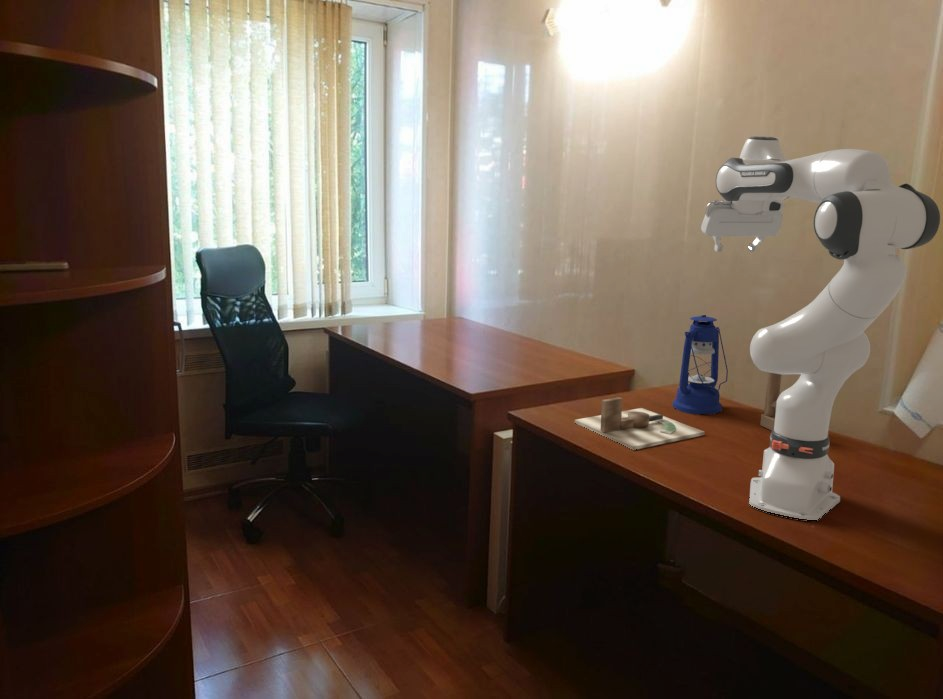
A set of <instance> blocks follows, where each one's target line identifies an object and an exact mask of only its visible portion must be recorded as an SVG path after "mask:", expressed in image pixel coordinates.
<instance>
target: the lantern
mask: <svg viewBox="0 0 943 699" xmlns="http://www.w3.org/2000/svg"><path fill="white" fill-rule="evenodd" d="M689 319H690V320H691V321H692V324H690V325H689V330H688V331H684V336H685V338H684V344H683V352H682V359H681V368H680V376H679V387H678V388H677V390H676V396H675V398H674V399H673V401H672V406H673V407H674V408H676V409H677V410H676V409H675V410H676V411H678V410H680V411H679V412H681V411H682V412H681V413H685V412H686V413H685V414H690V413H692V414H691V415H696V414H712V415H715V414H714V413H717V414H719V413H718V412H720V411H721V410H722V411H723V405H722V403H721V402H720V396H721V395H720V391H719V390H720V388H721V385H722V384H724V383H726V382H728V375H729V374H728V373H729V370H728V365H727V359H726V355H725V350H724V349H725V348H724V346H723V345H724V344H723V340H722V336H721V330H720V326H715V325H714V324H715V323H714V322H717V321H718V319H716V318H715V317H711V316H707V315H706V314H703V315H696V316H695V315H694V316H691V317H690V318H689ZM720 345H721V350H722V353H723V358H724V365H725V370H726V373H725V374H726V376H725V377H726V378H725V381H723V382H721V383H719V385H718V389H717V388H716V386H717V382H718V379H719V356H720V355H719V352H720V351H719V348H720ZM691 354H692V355H691ZM696 355H711V358H710V359H711V360H710V362H709V361H708V362H706V361H704V360H703V359H702V358H700V357H699V356H696ZM691 357H693V360H694V364H695V367H693V368H691V369H689V368H690V361H691ZM696 358H698V359H700V360H701V361H703V362H704V363H703V364H700V365H697V361H696ZM706 364H707V365H708V364H710V369H709V370H708V371H706V372H705V373H704V374H702V373H699V367H701V366H704V365H706ZM694 369H695V370H696V371H697V372H696V373H697V374H695V375H690V372H689V371H692V370H694ZM709 372H710V376H705V374H707V373H709ZM673 407H672V408H673ZM674 408H673V409H674ZM722 411H721V412H722ZM721 412H720V413H721Z"/></svg>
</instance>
